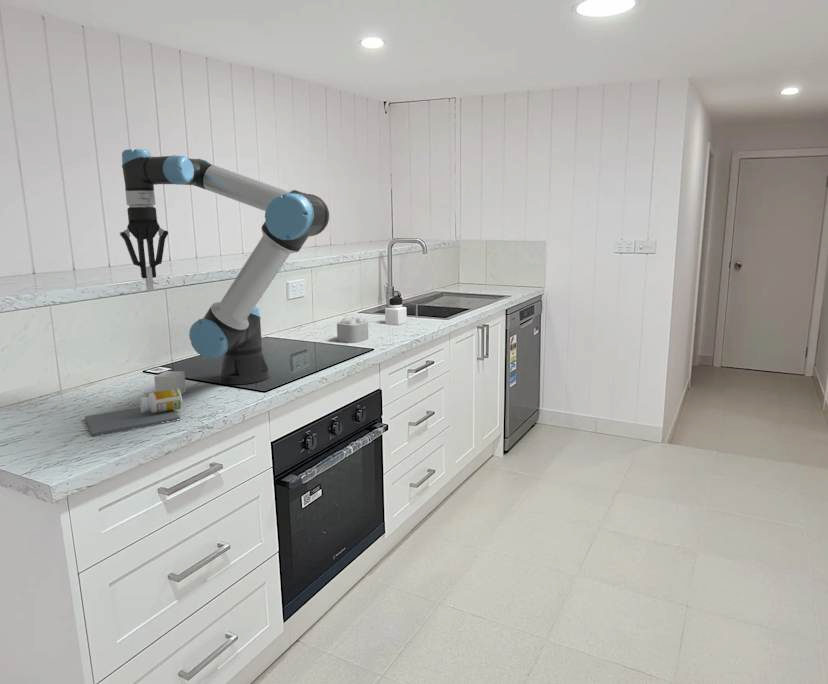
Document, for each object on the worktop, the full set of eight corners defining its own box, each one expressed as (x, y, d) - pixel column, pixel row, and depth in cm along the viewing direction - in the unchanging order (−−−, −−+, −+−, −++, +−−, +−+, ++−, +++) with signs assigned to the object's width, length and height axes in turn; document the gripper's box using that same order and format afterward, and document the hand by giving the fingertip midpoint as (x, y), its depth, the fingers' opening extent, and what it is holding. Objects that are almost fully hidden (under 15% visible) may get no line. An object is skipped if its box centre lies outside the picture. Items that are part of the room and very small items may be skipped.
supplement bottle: (176, 389, 169) (137, 395, 164) (180, 387, 165) (141, 393, 159) (179, 409, 169) (140, 415, 164) (184, 407, 164) (144, 414, 159)
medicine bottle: (407, 322, 286) (406, 296, 283) (398, 325, 280) (397, 298, 278) (393, 321, 290) (393, 295, 287) (385, 324, 284) (384, 297, 281)
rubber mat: (166, 405, 173) (166, 402, 172) (180, 420, 160) (179, 417, 160) (85, 419, 162) (84, 416, 162) (92, 436, 150) (92, 433, 149)
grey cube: (156, 396, 181) (154, 376, 179) (167, 390, 186) (165, 371, 185) (176, 397, 180) (173, 377, 178) (186, 391, 186) (184, 371, 184)
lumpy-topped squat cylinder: (334, 341, 251) (333, 319, 249) (354, 335, 261) (353, 314, 259) (354, 343, 245) (353, 321, 243) (374, 337, 255) (374, 316, 254)
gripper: (118, 206, 173) (128, 292, 178) (168, 206, 180) (176, 288, 185) (114, 206, 179) (123, 289, 184) (162, 206, 186) (170, 286, 191)
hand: (150, 289), depth 184 cm, fingers closed
